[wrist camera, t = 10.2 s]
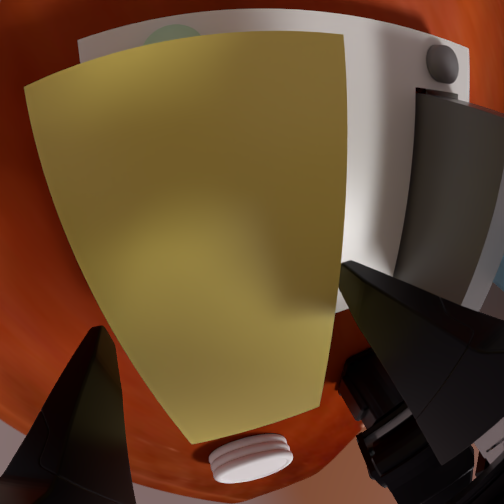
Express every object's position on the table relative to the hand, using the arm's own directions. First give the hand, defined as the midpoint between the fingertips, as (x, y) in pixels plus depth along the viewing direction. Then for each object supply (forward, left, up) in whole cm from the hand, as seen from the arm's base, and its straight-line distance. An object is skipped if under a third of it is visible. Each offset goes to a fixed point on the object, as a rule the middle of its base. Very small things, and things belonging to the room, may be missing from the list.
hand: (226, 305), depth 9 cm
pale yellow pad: (0, 0, -3) cm, 3 cm away
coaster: (+1, +31, -6) cm, 32 cm away
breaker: (-12, 0, -4) cm, 13 cm away
